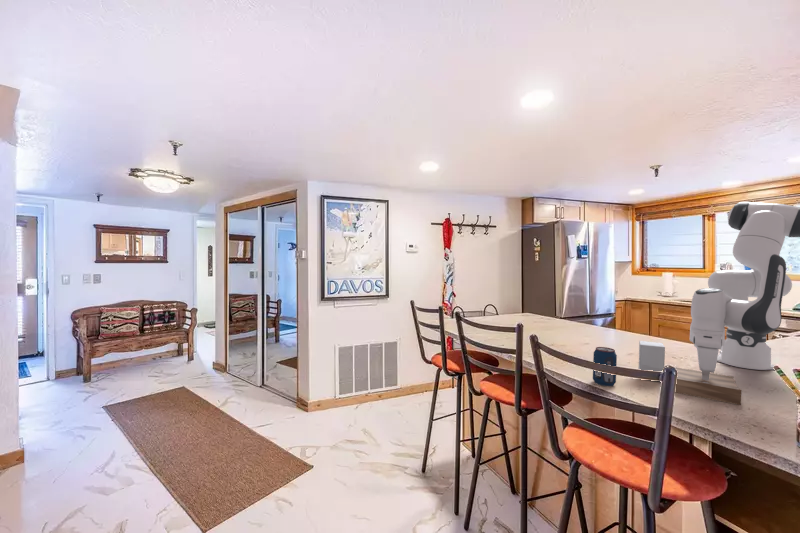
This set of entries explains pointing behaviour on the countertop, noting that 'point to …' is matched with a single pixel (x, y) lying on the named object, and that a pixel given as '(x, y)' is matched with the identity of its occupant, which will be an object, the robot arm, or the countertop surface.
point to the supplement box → (651, 356)
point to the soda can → (608, 358)
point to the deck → (708, 386)
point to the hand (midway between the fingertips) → (705, 379)
